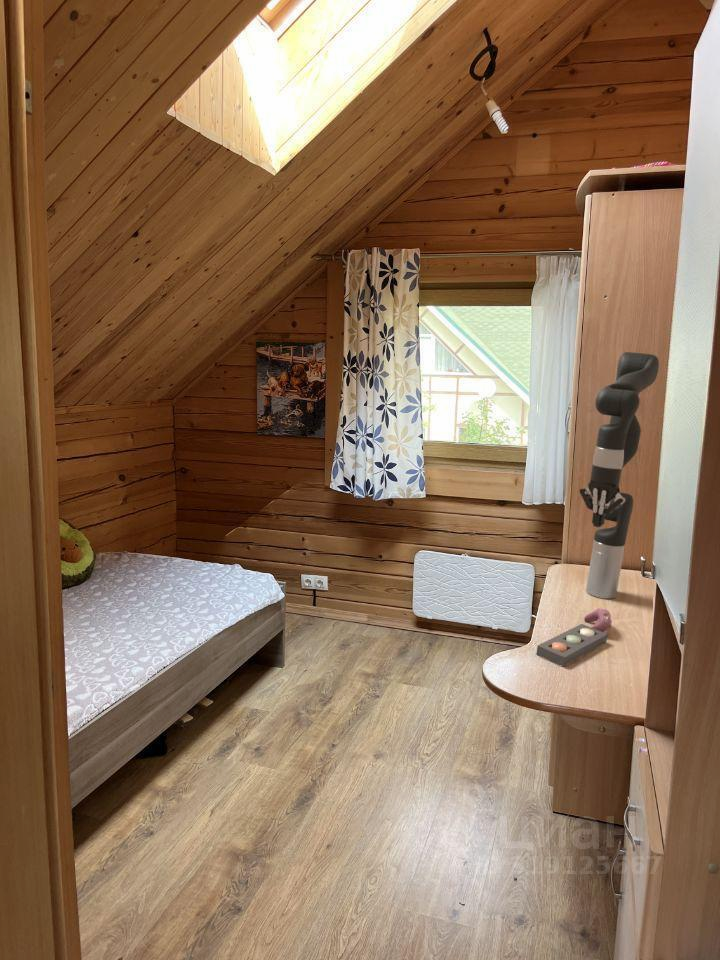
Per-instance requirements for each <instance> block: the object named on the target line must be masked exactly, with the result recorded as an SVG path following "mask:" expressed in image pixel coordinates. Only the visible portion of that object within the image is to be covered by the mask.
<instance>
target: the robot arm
mask: <svg viewBox="0 0 720 960" xmlns="http://www.w3.org/2000/svg"><path fill="white" fill-rule="evenodd" d="M659 365H660V361H659V358H658V356H657V355H655V354H651V353H643V352H633V351H631V352H630V351H629V352H628V351H624V352H622V353H621V355H620V356H619V359H618V363H617V370H616V375H615V376H616V379H615V382H614V383H612V384H609V385H607V386H604V387H603V388H602V389H601V390H600V391H599V392H598V393H597V395H596V398H595V402H594V405H595V409H596V411H597V412H598V413H600V414H601V415H604V416H610V419H609V424H602V425H600V427H599V429H598V434H597V438H596V439H597V440H596V446H595V450H594V453H593V457H592V458H593V459H592V460H593V461H592V466H591V471H590V480H589V483H588V484H587V486H586V487H584V488H580V489H579V493H580V496H581V498H582V500H583V501H584V504H585V506H586V507H587V509H588V510H591V511H592V519H591V523H592V525H593V527H596V528H599V529H597V530H596V531H595V532H594V536H593V543H592V549H591V550H592V551H591V556H590V563H589V568H588V569H589V570H588V574H587V575H588V576H587V581H586V588H585V591H586V594H589V595H590V596H592V597H596V598H600V599H607V600H610V599H615V598H616V597H617V594H618V589H619V588H618V587H619V583H620V577H621V571H622V565H623V558H624V553H625V546H626V539H627V537H628V530H629V525H630V520H631V517H632V513H633V509H634V498H633V496H632V495H631V494H629V493H626V492H621V489H620V487H619V486H620V482H621V475H622V470H623V468H624V467H626V465H628V463H630V461H631V460H632V459H633V458H634V457H635V455H636V454H637V452H638V450H639V444H640V439H641V438H640V437H641V432H642V431H641V430H642V429H641V426H640V422H639V419H638V418H637V415H636V414H637V411H638V409H639V407H640V402H641V401H640V397H639V394H640V393H641V392H643V391H644V390H647V388H648V387H650V386H651V385H653V384H654V382H655V381H656V379H657V376H658V373H659V367H660V366H659ZM605 521H611V522H614V523H615V526H612V527H609V528H608V527H606V528H601V527H602V526H604V525H605Z"/></svg>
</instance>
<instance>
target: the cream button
mask: <svg viewBox="0 0 720 960" xmlns="http://www.w3.org/2000/svg"><path fill="white" fill-rule="evenodd" d="M580 634H583V635H585V636H588V637H590V638H591V637H593V636H594V631H593V630H591V629H587V628H582V629H581V630H580Z"/></svg>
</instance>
